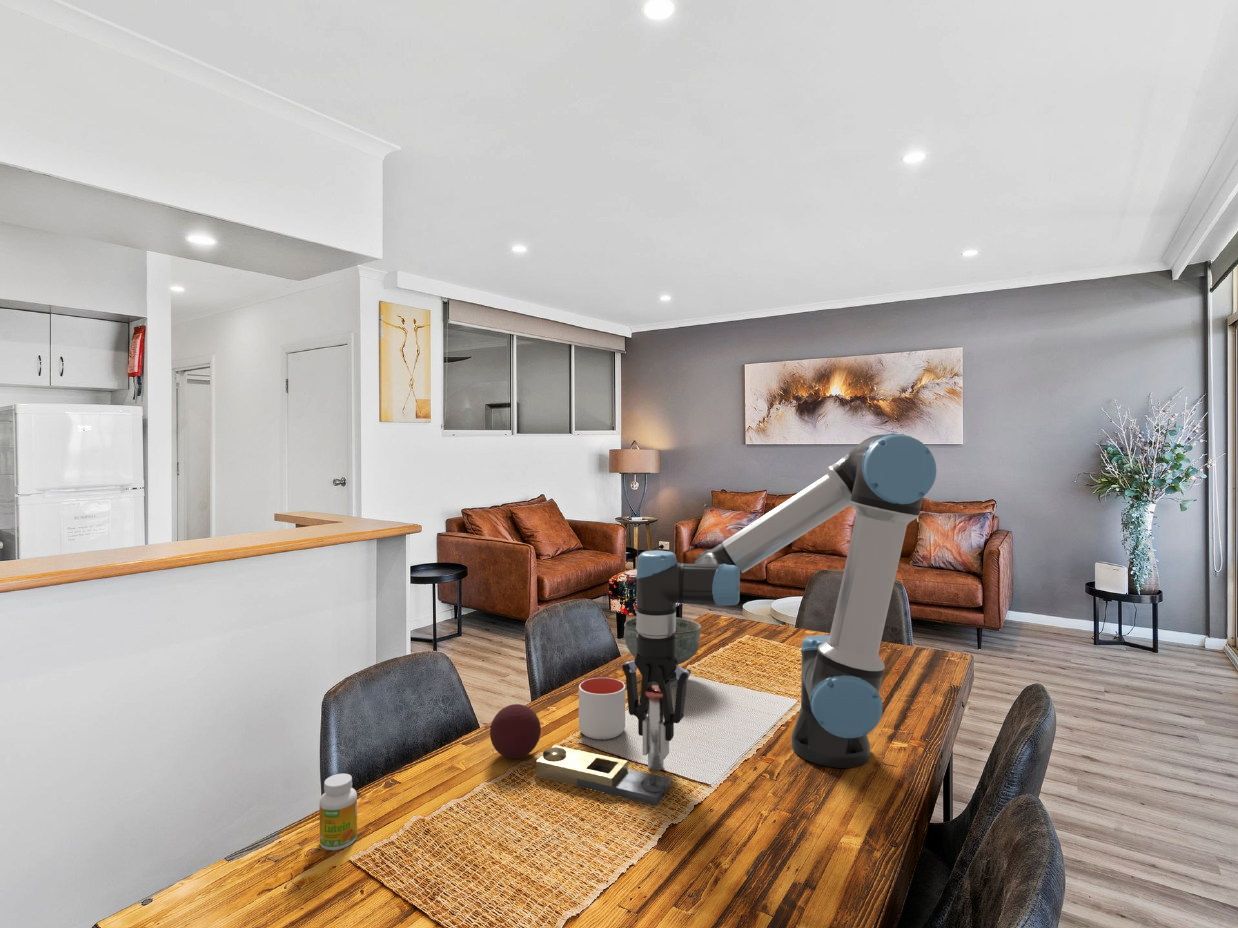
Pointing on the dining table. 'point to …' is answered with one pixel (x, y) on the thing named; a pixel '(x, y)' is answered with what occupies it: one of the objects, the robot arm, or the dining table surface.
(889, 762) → the dining table surface
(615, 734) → the cup
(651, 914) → the dining table surface
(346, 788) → the supplement bottle
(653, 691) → the pin
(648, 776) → the chain ends
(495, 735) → the decorative ball
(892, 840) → the dining table surface
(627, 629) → the bowl
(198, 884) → the dining table surface
